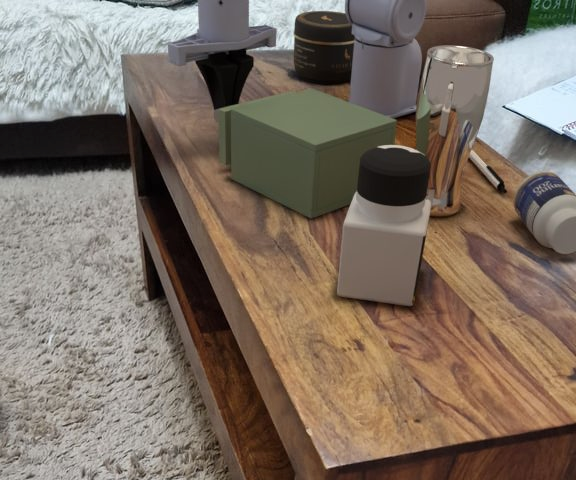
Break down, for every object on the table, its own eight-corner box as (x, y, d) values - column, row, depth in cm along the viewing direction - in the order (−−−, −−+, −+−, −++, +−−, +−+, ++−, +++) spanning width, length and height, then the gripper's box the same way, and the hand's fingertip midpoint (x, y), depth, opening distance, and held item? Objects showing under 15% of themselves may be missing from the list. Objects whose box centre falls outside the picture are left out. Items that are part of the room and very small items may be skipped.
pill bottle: (567, 168, 81) (605, 207, 74) (554, 218, 85) (589, 259, 78) (518, 169, 81) (552, 209, 74) (507, 219, 84) (538, 261, 78)
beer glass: (470, 201, 87) (504, 52, 77) (452, 224, 83) (484, 69, 72) (413, 187, 89) (438, 40, 79) (392, 208, 85) (415, 55, 74)
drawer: (197, 151, 93) (195, 98, 88) (267, 132, 98) (267, 81, 94) (291, 197, 84) (293, 141, 80) (361, 173, 90) (366, 119, 86)
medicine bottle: (413, 308, 70) (436, 174, 62) (335, 297, 71) (348, 163, 62) (419, 272, 75) (442, 143, 67) (347, 262, 76) (360, 133, 67)
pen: (500, 195, 89) (503, 185, 88) (447, 136, 102) (449, 127, 101) (508, 195, 89) (510, 185, 88) (454, 136, 102) (455, 127, 101)
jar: (322, 89, 114) (326, 30, 109) (278, 72, 119) (280, 15, 114) (369, 78, 119) (375, 21, 114) (325, 62, 124) (329, 6, 119)
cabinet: (231, 179, 89) (230, 108, 84) (308, 155, 95) (312, 87, 90) (311, 218, 83) (315, 144, 77) (388, 190, 89) (397, 120, 83)
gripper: (249, -25, 91) (249, 101, 100) (147, -10, 83) (157, 123, 93) (290, -13, 87) (285, 116, 97) (187, 3, 80) (193, 140, 89)
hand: (225, 120), depth 95 cm, fingers closed, pressing on drawer
